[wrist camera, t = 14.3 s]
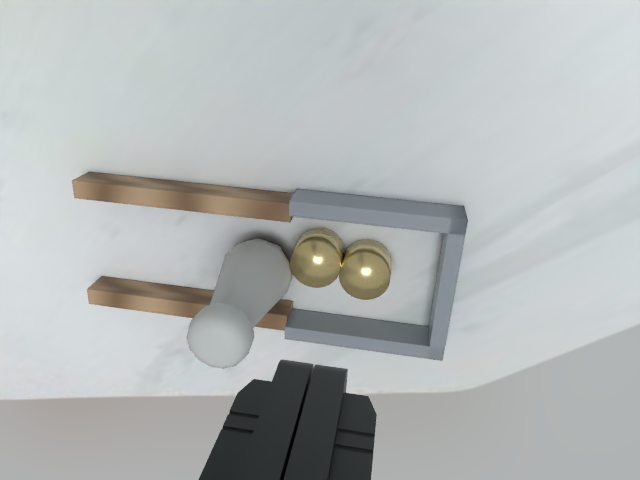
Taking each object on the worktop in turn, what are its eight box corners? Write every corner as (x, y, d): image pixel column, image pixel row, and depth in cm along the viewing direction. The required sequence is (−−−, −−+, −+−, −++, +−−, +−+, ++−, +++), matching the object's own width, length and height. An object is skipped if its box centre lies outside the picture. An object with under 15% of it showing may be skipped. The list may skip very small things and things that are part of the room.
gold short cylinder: (290, 259, 46) (282, 274, 43) (307, 219, 44) (301, 233, 42) (333, 278, 46) (328, 295, 43) (352, 239, 44) (348, 255, 42)
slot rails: (103, 290, 50) (88, 303, 48) (89, 171, 46) (71, 180, 43) (292, 315, 48) (286, 330, 46) (297, 193, 43) (290, 204, 41)
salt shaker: (267, 302, 48) (219, 398, 36) (218, 259, 47) (154, 344, 35) (310, 262, 46) (275, 351, 34) (261, 216, 45) (207, 291, 33)
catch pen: (291, 320, 48) (284, 338, 46) (297, 188, 43) (289, 201, 40) (440, 340, 47) (442, 360, 44) (464, 206, 42) (467, 220, 39)
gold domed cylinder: (335, 250, 45) (330, 265, 42) (378, 231, 44) (376, 246, 41) (356, 288, 46) (353, 306, 43) (399, 272, 45) (398, 289, 42)
